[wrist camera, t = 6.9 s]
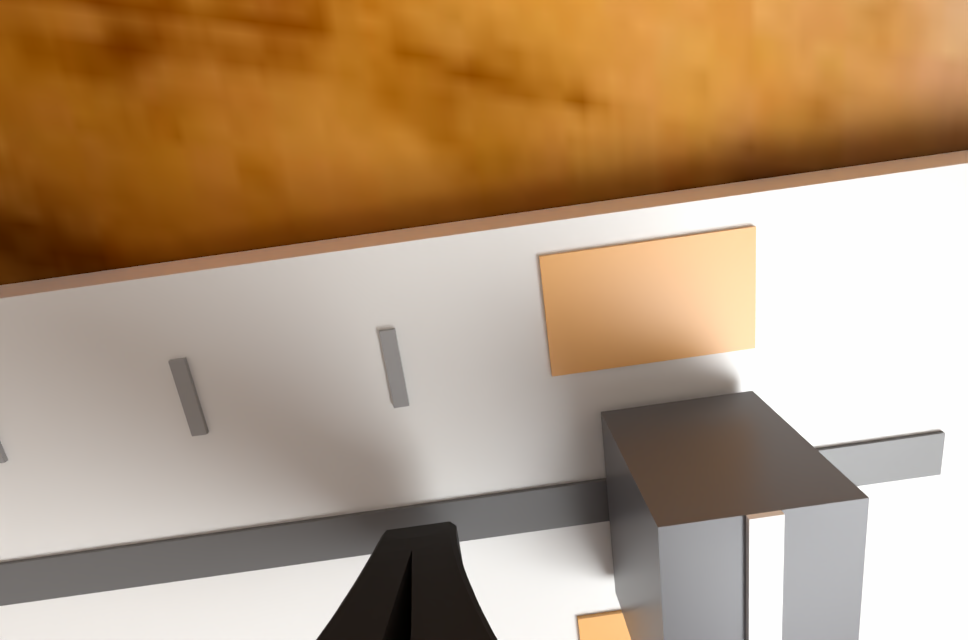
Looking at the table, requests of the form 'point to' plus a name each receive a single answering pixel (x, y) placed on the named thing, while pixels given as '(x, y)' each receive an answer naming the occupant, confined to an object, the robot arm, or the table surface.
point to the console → (477, 404)
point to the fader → (730, 525)
